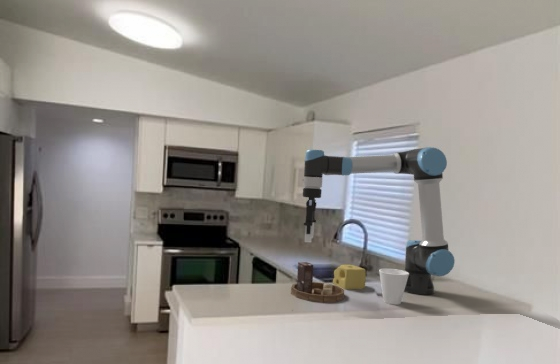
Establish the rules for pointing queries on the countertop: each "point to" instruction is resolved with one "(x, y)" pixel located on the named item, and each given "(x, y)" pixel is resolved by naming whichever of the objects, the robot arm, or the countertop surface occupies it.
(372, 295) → the countertop surface
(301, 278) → the box
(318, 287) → the walnut tray
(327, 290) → the bead
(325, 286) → the bead
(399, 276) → the cup
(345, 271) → the cheese
